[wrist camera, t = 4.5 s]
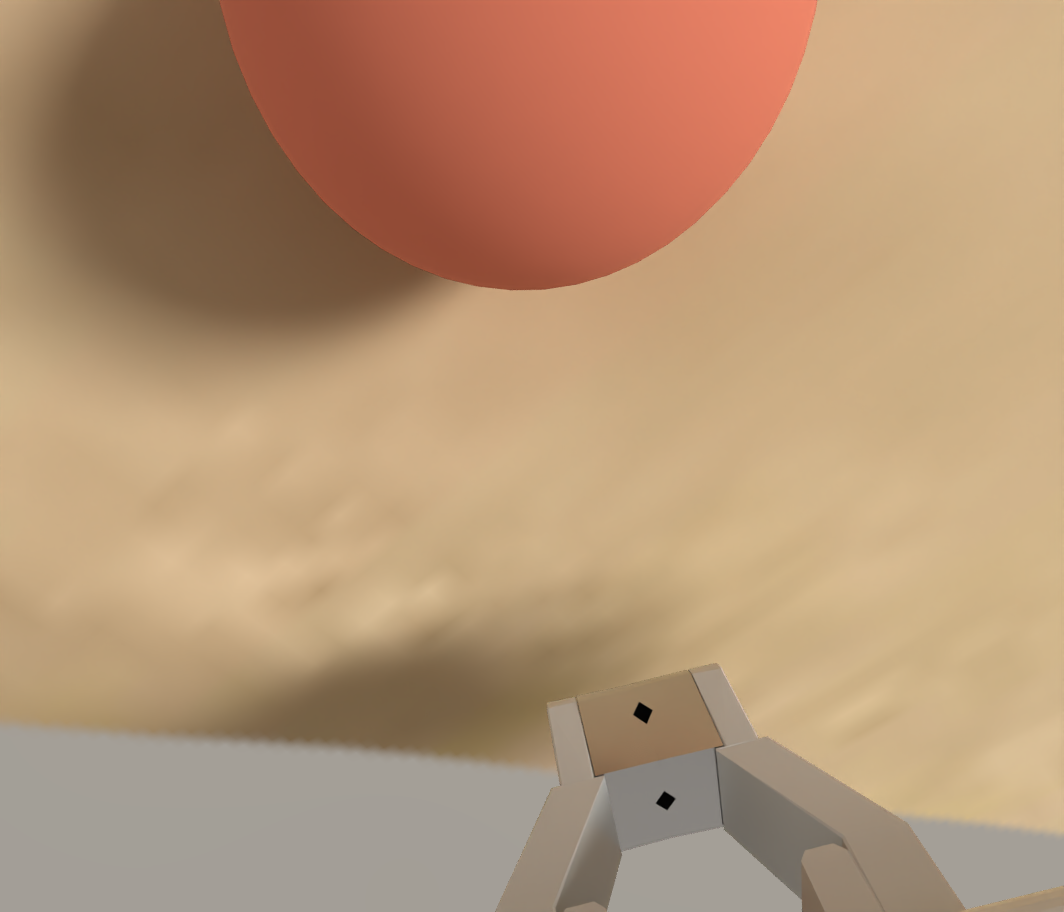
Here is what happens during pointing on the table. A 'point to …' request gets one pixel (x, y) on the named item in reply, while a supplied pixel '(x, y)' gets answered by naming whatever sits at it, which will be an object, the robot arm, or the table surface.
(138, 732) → the table surface
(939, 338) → the table surface
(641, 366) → the table surface
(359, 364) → the table surface
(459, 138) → the ball
